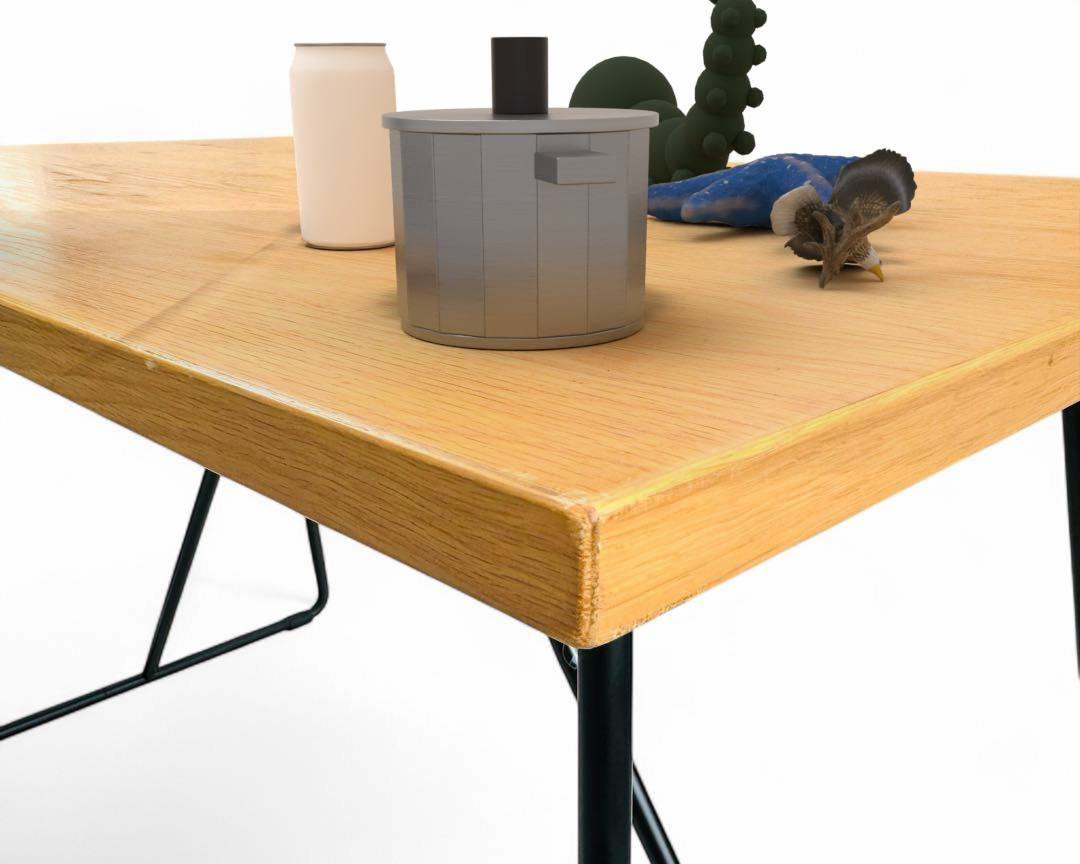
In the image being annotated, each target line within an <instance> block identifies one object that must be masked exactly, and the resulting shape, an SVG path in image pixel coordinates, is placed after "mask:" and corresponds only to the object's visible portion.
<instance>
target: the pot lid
mask: <svg viewBox="0 0 1080 864" xmlns="http://www.w3.org/2000/svg"><path fill="white" fill-rule="evenodd" d="M490 65H491V66H490V67H491V68H490V69H491V71H490V72H491V73H490V74H491V107H468V108H466V107H465V108H464V107H463V108H436V109H435V108H434V109H414V110H401V111H397V112H391V113H385V114H382V127H383V128H385V129H390V130H398V131H410V132H429V133H463V134H550V133H587V132H609V131H625V130H637V129H646V128H652V127H656V126H658V124H659V113H657V112H653V111H645V110H632V109H608V108H568V107H549V37H548V36H492V37H490Z"/></svg>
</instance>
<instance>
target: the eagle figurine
mask: <svg viewBox="0 0 1080 864" xmlns="http://www.w3.org/2000/svg"><path fill="white" fill-rule="evenodd" d="M860 157H861V158H858V159H856V160H855V161H854V162H852V163H849V164H847V165H844V166H842V168H841V170H840V173H839V175H838V179H837V180H836V184H835V186H834V189H833V191H832V193H831V198H830V199H829V202H828V203H827V204H826V205H824V204H822V203H821V200H820V198H819V196H818V194H817V192H816V189H815V188H814V187H813V186H812V185H805V186H800V187H798V188H796V189H793V190H792V191H790V192H788V193H786V194H784V195H782V196H781V197H780V198H779V199H778V200H777V201H776V202H775V203H774V205H773V210H772V212H771V215H770V218H771V222H772V227H771V229H772V231H773V233H774V234H775V235H776V236H778V237H787V236H792V235H793V237H791V238H790V239H789V240H787V241H786V242H785V244H784V246H783V248H790V251H793V255H794V256H796V257H797V258H801V259H803V260H806V261H816V262H817V263H820V262H822V270H821V274H820V277H819V281H818V287H819V289H821V290H823V289H825V288H826V286H827V285H828V284H829V283H830V282H831V281H832V280H833V278H834V277H835V276H837V275H839V273H840V269H841V268H844V265H845V264H852V265H858V264H859V265H860V266H861V267H862V268H863V269H864V270H865V271H867V272H868V273H872V274H873V275H875V276H876V277H877V278H878V279H879V280H880V281H885V278H886V277H885V275H884V273H883V270H882V267H883V261H882V259H881V258H880V256H879V255H878V253H877V252H876V250H875V249H874V247H873V245H872V244H871V243H870V240H869V238H868V235H870V234H871V233H873V232H875V231H877V230H880V229H881V228H883V227H884V226H886V225H887V224H889V223H890V222H892V220H893V218H894V217H897V216H899V215H902V214H905V213H907V212H908V211H909V210H911V207H912V201H913V200H914V199H915V195H916V190H917V189H918V185H917V182H916V181H915V172H914V171H913V169H912V170H911V167H912V165H911V163H910V162H908V158H907V156H905V155H902V153H900V152H897V151H896V150H892V149H890V148H888V149H887V148H886V147H884V148H877V149H876V150H874V151H873V152H872V153H869V154H866V155H865V156H860Z"/></svg>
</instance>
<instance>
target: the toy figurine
mask: <svg viewBox="0 0 1080 864" xmlns="http://www.w3.org/2000/svg"><path fill="white" fill-rule="evenodd" d="M708 1H709V2H710V3H711V4H712V5H714V6H713V8H712V10H711V14H710V19H709V20H710V28H711V31H712V32H711V33H710V34H709V35H708V37H707V38H706V40H705V41H704V44H703V47H702V60H703V66H704V70H702V71H701V73H700V75H699V76H698V77H697V79H696V82H695V85H694V102H695V103H693V105H691V107H690V108H689V109H688V111H687V112H686V114H685V113H684V112H683V111H682V110H681V109H680V108H679V107H678V100H677V97H676V93H675V91H674V88H673V86H672V84H671V83H670V82H669V80H668V78H667V77H666V75H665V74H664V73H662V71H661V70H659V69H658V68H657V67H656V66H654V65H653V64H652V63H650V62H649V61H647V60H645V59H641V58H638V57H636V56H630V55H629V56H628V55H618V56H612V57H609V58H605V59H604V60H601V61H600V62H597V63H595V65H593V66H592V67H590V68H589V69H588V70H586V72H585V73H584V74H583V75H582V76H581V77H580V78H579V81H578V82H577V83H576V84H575V87H574V89H573V91H572V93H571V96H570V99H569V101H568V106H567V108H608V109H632V110H645V111H653V112H657V113H659V124H658V126H656V127H652V128H649V166H648V187H649V186H651V185H654V184H660V183H670V182H679V181H682V180H687V179H690V178H694V177H697V176H700V175H704V174H710V173H714V172H716V171H720V170H728V169H730V168H732V166H728V163H729V158H730V155H731V154H732V153H733V152H735V153H737V154H738V155H740V156H748V155H750V154H751V153H752V152H754V150H755V148H756V146H757V143H756V138H755V135H754V133H751V132H750V131H747V130H745V128H746V124H745V116H744V112H745V110H746V109H747V107H748V108H751V109H756V108H758V107H760V106H761V105H762V103H763V102H764V101H765V99H764V97H765V96H764V92H763V90H762V89H760V88H758V87H756V86H753V87H752V84H751V80H750V78H749V76H748V73H749V72H750V71H751V70H752V68H753V66H755V67H757V66H759V65H761V64H762V63H764V62H765V61H766V60H767V56H768V52H767V49H766V47H765V46H763V45H762V44H760V43H759V44H756V41H755V40H754V39H755V38H753V35H754V33H755V32H756V30H757V29H760V28H762V27H764V26H765V24H766V23H767V21H768V14H767V12H766V10H765V9H762V8H761V7H757V5H756V4H755V1H753V0H708Z"/></svg>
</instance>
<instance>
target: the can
mask: <svg viewBox="0 0 1080 864" xmlns="http://www.w3.org/2000/svg"><path fill="white" fill-rule="evenodd" d="M293 46H294V47H295V52H294V56H293V59H292V60H291V61H292V62H291V64H290V67H289V74H288V75H289V93H290V94H289V95H290V108H291V121H292V136H293V148H294V149H293V150H294V161H295V174H296V186H297V187H296V189H297V199H298V212H299V224H300V226H299V227H300V234H301V235H300V236H301V240H303V241H304V242H306V245H307V246H308V247H310V248H315V249H320V250H322V249H323V250H337V251H338V250H339V251H340V250H342V251H347V250H351V251H352V250H353V251H354V250H371V249H378V248H379V249H381V248H386V247H391V246H395V238H394V218H393V197H392V177H391V156H390V136H389V129H385V128H383V127H382V114H385V113H391V112H398V111H397V95H396V94H397V93H396V79H395V78H396V77H395V69H394V67H393V64H392V62H391V60H390V58H389V57H388V54H387V51H386V47H387V42H296V43H293Z"/></svg>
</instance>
